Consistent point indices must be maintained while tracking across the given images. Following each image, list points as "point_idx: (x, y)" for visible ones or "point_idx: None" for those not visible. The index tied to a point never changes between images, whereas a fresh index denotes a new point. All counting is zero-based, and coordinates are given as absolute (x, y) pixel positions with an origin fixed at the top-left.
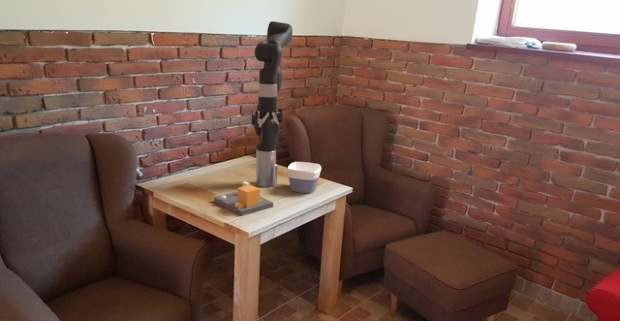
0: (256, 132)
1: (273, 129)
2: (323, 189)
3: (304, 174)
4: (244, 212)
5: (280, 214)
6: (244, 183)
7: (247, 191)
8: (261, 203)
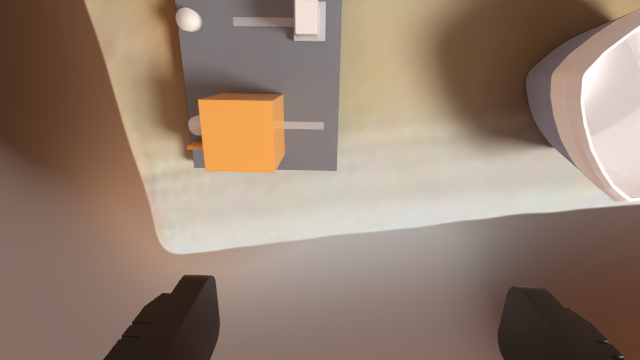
0: (142, 328)
1: (541, 335)
2: None
3: (582, 165)
4: None
5: (311, 226)
6: (295, 17)
7: (211, 164)
8: (294, 152)
